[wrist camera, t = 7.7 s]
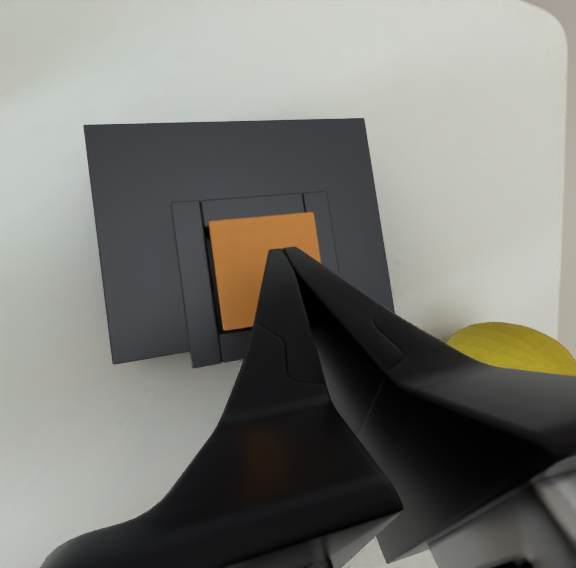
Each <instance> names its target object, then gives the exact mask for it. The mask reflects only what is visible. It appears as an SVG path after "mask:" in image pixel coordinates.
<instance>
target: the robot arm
mask: <svg viewBox="0 0 576 568" xmlns="http://www.w3.org/2000/svg"><path fill="white" fill-rule="evenodd" d="M375 536H376V538H377V540H378V543H379V545H380V548H381V550H382V553H383V555H384V558H385V560H386V563H387V564H389V563H392V562H395V561H397V560H400V559H403V558H406V557H409V556H411V555H414V554H417V553H420V552H423V551H426V550H428V549H430V551H431V553H432V555H433V558H434V560H435V562H436V564H437V566H438V568H576V376H569V375H560V374H552V373H544V372H535V371H527V370H519V369H511V368H503V367H497V366H493V365H489V364H486V363H483V362H480V361H478V360H475V359H473V358H471V357H469V356H467V355H465V354H463V353H462V352H460V351H458V350H456V349H455V348H453V347H451V346H449V345H447V344H446V343H444V342H442V341H440V340H439V339H437V338H435V337H433V336H431V335H430V334H428V333H426V332H424V331H423V330H421V329H419V328H418V327H416V326H414V325H412V324H411V323H409V322H407V321H406V320H404V319H402V318H401V317H399V316H398V315H396V314H395V313H393V312H392V311H390V310H389V309H387V308H386V307H384V306H383V305H381V304H380V303H377V302H376V301H375V300H374V299H372V298H371V297H369V296H368V295H366V294H365V293H363V292H362V291H361V290H359V289H358V288H356V287H355V286H353V285H352V284H350V283H349V282H347V281H346V280H344V279H343V278H341V277H340V276H339V275H337V274H336V273H334V272H333V271H331V270H330V269H328V268H327V267H325V266H324V265H322V264H321V263H319V262H318V261H317V260H315V259H314V258H312V257H311V256H309V255H308V254H306V253H305V252H303V251H302V250H300V249H299V248H297V247H286V248H283V249H281V248H277V249H270V250H269V251H268V255H267V259H266V264H265V269H264V274H263V279H262V284H261V289H260V294H259V299H258V304H257V309H256V314H255V319H254V324H253V328H252V333H251V337H250V341H249V345H248V349H247V352H246V355H245V358H244V361H243V363H242V366H241V369H240V371H239V374H238V377H237V379H236V382H235V384H234V387H233V389H232V392H231V394H230V397H229V400H228V402H227V405H226V407H225V410H224V412H223V414H222V416H221V419H220V421H219V423H218V425H217V427H216V428H215V430H214V432H213V433H212V435H211V436H210V438H209V439H208V440H207V442H206V443H205V444H204V446H203V447H202V448H201V450H200V451H199V452H198V454H197V455H196V456H195V458H194V459H193V460H192V462H191V463H190V464H189V466H188V467H187V468H186V470H185V471H184V472H183V474H182V475H181V476H180V478H179V479H178V480H177V482H176V483H175V484H174V486H173V487H172V488H171V490H170V491H169V492H168V493H167V495H166V496H165V497H164V498H163V499H162V500H161V501H160V502H159V503H158V504H156V505H155V506H154V507H153V508H151V509H150V510H149V511H147V512H145V513H144V514H142V515H140V516H139V517H137V518H134V519H132V520H129V521H127V522H124V523H121V524H117V525H113V526H110V527H106V528H102V529H99V530H95V531H92V532H89V533H86V534H83V535H80V536H78V537H76V538H73V539H71V540H69V541H67V542H65V543H64V544H62V545H60V546H59V547H57V548H56V549H55V550H54V551H53V552H52V553H50V554H49V556H48V557H47V558H46V559H45V561H44V562H43V564H42V565H41V567H40V568H341V567H343V566H344V565H345V564H346V563H347V562H348V561H349V560H350V559H351V558H352V557H353V556H354V555H356V554H357V553H358V552H359V551H360V550H361V549H362V548H363V547H364V546H365V545H366V544H367V543H369V542H370V541H371V540H372V539H373V538H374V537H375Z"/></svg>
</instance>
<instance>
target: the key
mask: <svg viewBox="0 0 576 568" xmlns="http://www.w3.org/2000/svg"><path fill="white" fill-rule="evenodd" d="M209 229H210V237H211V244H212V251H213V259H214V266H215V273H216V280H217V288H218V295H219V302H220V310H221V317H222V324H223V329H224V330H225V331H227V330H233V329H239V328H245V327H252V326H253V324H254V319H255V314H256V309H257V304H258V299H259V294H260V289H261V284H262V279H263V274H264V269H265V264H266V259H267V255H268V251H269V250H270V249H277V248H281V249H283V248H286V247H297V248H299V249H300V250H302V251H303V252H305V253H306V254H308V255H309V256H311V257H312V258H314V259H315V260H317V261H318V262H319V263H321V258H320V251H319V245H318V238H317V231H316V225H315V218H314V213H313V212H305V213H294V214H283V215H272V216H260V217H249V218H238V219H227V220H216V221H210V222H209Z"/></svg>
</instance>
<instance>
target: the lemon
mask: <svg viewBox="0 0 576 568" xmlns="http://www.w3.org/2000/svg"><path fill="white" fill-rule="evenodd" d="M446 344H447V345H449V346H451V347H453V348H455V349H456V350H458V351H460V352H462V353H463V354H465V355H467V356H469V357H471V358H473V359H475V360H478V361H480V362H483V363H486V364H489V365H493V366H497V367H503V368H511V369H519V370H527V371H535V372H544V373H552V374H560V375H569V376H576V361H575V359H574V358H573V356H572V355H571V354H570V353H569V351H568V350H567V349H566V348H565V347H563V346H562V345H561V344H560V343H559V342H557V341H556V340H555V339H553V338H551V337H549V336H547V335H545V334H543V333H541V332H539V331H536V330H534V329H531V328H528V327H525V326H521V325H516V324H509V323H502V322H487V323H480V324H474V325H470V326H468V327H466V328H464V329H462V330H459V331H458V332H457V333H455V334H454V335H453V336H452V337H451V338H450V339H449V340H448V342H447V343H446Z"/></svg>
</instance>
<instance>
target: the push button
mask: <svg viewBox="0 0 576 568" xmlns="http://www.w3.org/2000/svg"><path fill="white" fill-rule="evenodd" d="M84 134H85V142H86V150H87V158H88V166H89V175H90V183H91V191H92V199H93V207H94V215H95V223H96V232H97V240H98V248H99V256H100V264H101V272H102V280H103V289H104V297H105V305H106V313H107V321H108V329H109V337H110V346H111V354H112V362H113V364H114V365H115V364H121V363H126V362H132V361H138V360H144V359H150V358H155V357H161V356H167V355H173V354H179V353H184V352H190V356H191V364H192V368H199V367H204V366H210V365H215V364H220V363H222V362H223V363H226V362H231V361H237V360H242V359H244V358H245V355H246V352H247V349H248V345H249V341H250V337H251V333H252V328H253V326H252V327H245V328H239V329H233V330H227V331H225V330H224V329H223V324H222V317H221V310H220V302H219V295H218V288H217V280H216V273H215V266H214V259H213V251H212V244H211V237H210V229H209V222H210V221H216V220H227V219H238V218H249V217H260V216H272V215H283V214H294V213H305V212H313V213H314V218H315V225H316V231H317V238H318V245H319V251H320V258H321V264H322V265H324V266H325V267H327V268H328V269H330V270H331V271H333V272H334V273H336V274H337V275H339V276H340V277H341V278H343V279H344V280H346V281H347V282H349V283H350V284H352V285H353V286H355V287H356V288H358V289H359V290H361V291H362V292H363V293H365V294H366V295H368V296H369V297H371V298H372V299H374V300H375V301H376V302H377V303H380V304H381V305H383V306H384V307H386V308H387V309H389V310H390V311H392V312H393V313H395V311H394V305H393V298H392V292H391V286H390V280H389V273H388V267H387V261H386V254H385V248H384V242H383V235H382V229H381V223H380V216H379V210H378V204H377V197H376V191H375V185H374V178H373V172H372V166H371V160H370V153H369V147H368V141H367V134H366V128H365V122H364V118H351V119H310V120H269V121H228V122H187V123H146V124H105V125H84Z"/></svg>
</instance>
